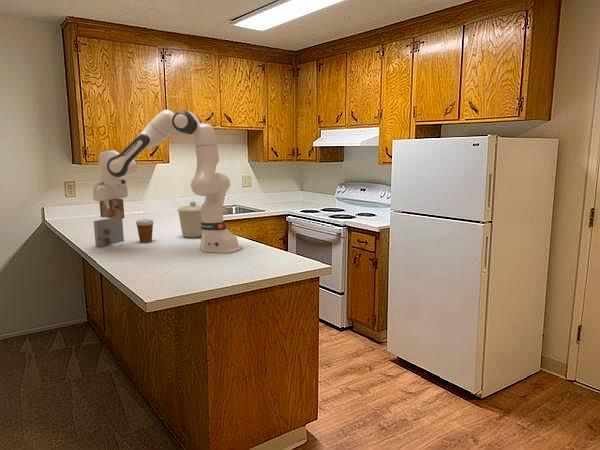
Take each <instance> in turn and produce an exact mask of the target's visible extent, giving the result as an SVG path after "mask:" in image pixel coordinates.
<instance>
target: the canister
mask: <svg viewBox="0 0 600 450" xmlns="http://www.w3.org/2000/svg"><path fill="white" fill-rule="evenodd" d="M196 204H197V202H196V201H194V200H192V201H191V200H190V202H189V205H183V206H180V207H179V208H177V212H178V216H179V223H180V229H181V234H182V236H184V238H189V239H192V238H193V239H197V238H201V237H202V231H201V222H202V218H201V207H202V205H199V204H198V205H196Z"/></svg>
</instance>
